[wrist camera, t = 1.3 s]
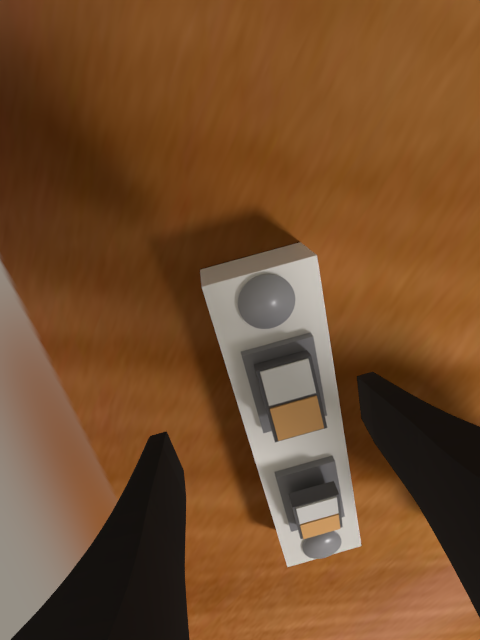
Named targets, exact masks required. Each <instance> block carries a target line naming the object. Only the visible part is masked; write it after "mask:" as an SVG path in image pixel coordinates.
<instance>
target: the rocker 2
mask: <svg viewBox="0 0 480 640" xmlns="http://www.w3.org/2000/svg"><path fill="white" fill-rule="evenodd" d="M289 498H290V502H291V506H292V510H293V514H294V517H295V521H296V525H297V529H298V532H299V536H300V539H307V538H310V537H314V536H317V535H321V534H324V533H328V532H331V531H335V530H338V529H340V528H342V527H343V526H342V516H341V506H340V496H339V492H338V490H337V487H336V485H335V483H334V481H332V482H328V483H325V484H321V485H318V486H314V487H311V488H307V489H303V490H300V491H296V492H293V493H289Z"/></svg>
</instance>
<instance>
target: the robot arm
mask: <svg viewBox="0 0 480 640" xmlns="http://www.w3.org/2000/svg"><path fill="white" fill-rule="evenodd" d="M357 383H358V392H359V401H360V411H361V419H362V420H363V422H364V424H365V426H366V428H367V430H368V432H369V434H370V435H371V437H372V439H373V441H374V443H375V444H376V445H377V447H378V448H379V450H380V451H381V453H382V454H383V456H384V457H385V458H386V460H387V461H388V463H389V464H390V465H391V467H392V468H393V470H394V471H395V472H396V474H397V475H398V477H399V478H400V479H401V481H402V482H403V484H404V485H405V486H406V488H407V489H408V491H409V492H410V494H411V495H412V497H413V498H414V500H415V501H416V503H417V504H418V506H419V507H420V509H421V511H422V512H423V514H424V516H425V518H426V519H427V521H428V523H429V525H430V526H431V528H432V530H433V531H434V533H435V535H436V537H437V539H438V540H439V542H440V544H441V546H442V548H443V549H444V551H445V553H446V555H447V557H448V558H449V560H450V562H451V564H452V566H453V568H454V569H455V571H456V573H457V575H458V577H459V579H460V581H461V583H462V585H463V586H464V588H465V590H466V592H467V594H468V596H469V598H470V600H471V602H472V604H473V606H474V608H475V609H476V611H477V613H478V615H479V617H480V427H479V426H476V425H474V424H471V423H469V422H467V421H464V420H462V419H459V418H457V417H455V416H453V415H450V414H448V413H446V412H444V411H442V410H440V409H438V408H436V407H434V406H432V405H430V404H428V403H426V402H424V401H422V400H421V399H419V398H417V397H415V396H413V395H411V394H410V393H408V392H406V391H404V390H403V389H401V388H399V387H398V386H396V385H394V384H392V383H391V382H389V381H387V380H386V379H384V378H382V377H381V376H379V375H377V374H376V373H374V372H370V373H367V374H363V375H360V376H357ZM185 528H186V491H185V480H184V470H183V468H182V466H181V463H180V461H179V459H178V457H177V454H176V452H175V450H174V447H173V445H172V443H171V441H170V438H169V436H168V434H167V431H166V432H163V433H159V434H156V435H152V436H150V437H149V439H148V441H147V443H146V445H145V448H144V450H143V452H142V454H141V457H140V459H139V461H138V463H137V465H136V467H135V469H134V472H133V474H132V476H131V478H130V480H129V482H128V484H127V486H126V488H125V489H124V491H123V493H122V495H121V497H120V499H119V500H118V502H117V504H116V506H115V508H114V509H113V511H112V513H111V515H110V516H109V518H108V520H107V521H106V523H105V524H104V526H103V528H102V529H101V531H100V532H99V534H98V535H97V537H96V538H95V540H94V542H93V543H92V544H91V546H90V547H89V548H88V550H87V551H86V553H85V554H84V555H83V557H82V558H81V559H80V561H79V562H78V563H77V565H76V566H75V567H74V569H73V570H72V571H71V573H70V574H69V575H68V576H67V578H66V579H65V580H64V581H63V582H62V584H61V585H60V586H59V587H58V588H57V590H56V591H55V592H54V593H53V594H52V595H51V597H50V598H49V599H48V600H47V601H46V603H45V604H44V605H43V606H42V607H41V608H40V609H39V611H37V612H36V614H35V615H34V616H33V617H32V618H31V619H30V620H29V621H28V622H27V623H26V624H25V625H24V626H23V627H22V628H21V629H20V630H19V631H18V632H17V633H16V635H15V636H14V637H13V638H12V639H11V640H189V629H188V617H187V603H186V588H185Z"/></svg>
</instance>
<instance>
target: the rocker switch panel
mask: <svg viewBox="0 0 480 640" xmlns="http://www.w3.org/2000/svg"><path fill="white" fill-rule="evenodd" d="M200 276H201V286H202V290H203V293H204V297H205V300H206V303H207V306H208V310H209V313H210V316H211V319H212V323H213V326H214V329H215V332H216V336H217V339H218V342H219V345H220V349H221V352H222V355H223V358H224V362H225V365H226V368H227V371H228V375H229V378H230V381H231V384H232V388H233V391H234V394H235V397H236V401H237V404H238V407H239V410H240V414H241V417H242V420H243V423H244V427H245V430H246V433H247V436H248V440H249V443H250V446H251V449H252V453H253V456H254V459H255V463H256V466H257V469H258V472H259V476H260V479H261V482H262V485H263V489H264V492H265V495H266V498H267V502H268V505H269V508H270V511H271V515H272V518H273V521H274V524H275V528H276V531H277V534H278V537H279V541H280V544H281V547H282V550H283V554H284V557H285V560H286V563H287V567H290V566H293V565H297V564H300V563H304V562H307V561H311V560H314V559H320V558H325V557H328V556H330V555H332V554H335V553H339V552H342V551H346V550H349V549H353V548H356V547H360V546H361V540H360V534H359V527H358V520H357V514H356V507H355V501H354V494H353V488H352V481H351V475H350V468H349V462H348V455H347V449H346V442H345V436H344V429H343V422H342V416H341V409H340V403H339V396H338V390H337V383H336V377H335V370H334V364H333V357H332V351H331V344H330V338H329V331H328V325H327V318H326V311H325V305H324V298H323V292H322V285H321V279H320V272H319V266H318V259H317V255H316V254H315V253H313V252H312V251H311V250H310V249H308V248H307V247H306V246H305V245H303V244H302V243H301V242H299V243H296V244H292V245H288V246H285V247H281V248H277V249H274V250H270V251H266V252H263V253H259V254H255V255H252V256H248V257H244V258H241V259H237V260H234V261H230V262H226V263H223V264H219V265H215V266H212V267H208V268H204V269H201V270H200ZM304 350H307V351H308V352H309V353H310V354H311V356H312V361H313V365H314V370H315V374H316V379H317V383H318V388H319V392H320V397H321V401H322V406H323V410H324V415H325V419H326V424H327V428H325V429H321V430H318V431H314V432H311V433H307V434H303V435H300V436H296V437H293V438H289V439H286V440H282V441H279V442H275V441H274V437H273V434H272V431H271V427H270V423H269V420H268V416H267V412H266V408H265V405H264V401H263V397H262V394H261V390H260V386H259V383H258V379H257V375H256V372H255V368H254V364H258V363H261V362H265V361H268V360H272V359H276V358H279V357H283V356H286V355H290V354H293V353H297V352H301V351H304ZM332 481H334V483H335V485H336V487H337V490H338V492H339V496H340V506H341V516H342V526H343V527H342V528H340V529H338V530H335V531H331V532H328V533H324V534H321V535H317V536H314V537H310V538H307V539H300V536H299V532H298V529H297V525H296V521H295V517H294V514H293V510H292V506H291V502H290V498H289V493H293V492H296V491H300V490H303V489H307V488H311V487H314V486H318V485H321V484H325V483H328V482H332Z"/></svg>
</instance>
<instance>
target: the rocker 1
mask: <svg viewBox="0 0 480 640" xmlns="http://www.w3.org/2000/svg"><path fill="white" fill-rule="evenodd" d="M254 368H255V372H256V375H257V379H258V383H259V386H260V390H261V394H262V397H263V401H264V405H265V408H266V412H267V416H268V420H269V423H270V427H271V431H272V434H273V437H274V441H275V442H279V441H282V440H286V439H289V438H293V437H296V436H300V435H303V434H307V433H311V432H314V431H318V430H321V429H325V428H327V424H326V419H325V415H324V410H323V406H322V401H321V397H320V392H319V388H318V383H317V379H316V374H315V370H314V365H313V361H312V356H311V354H310V353H309V352H308V351H307V350H304V351H301V352H297V353H293V354H290V355H286V356H283V357H279V358H276V359H272V360H268V361H265V362H261V363H258V364H254Z"/></svg>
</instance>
